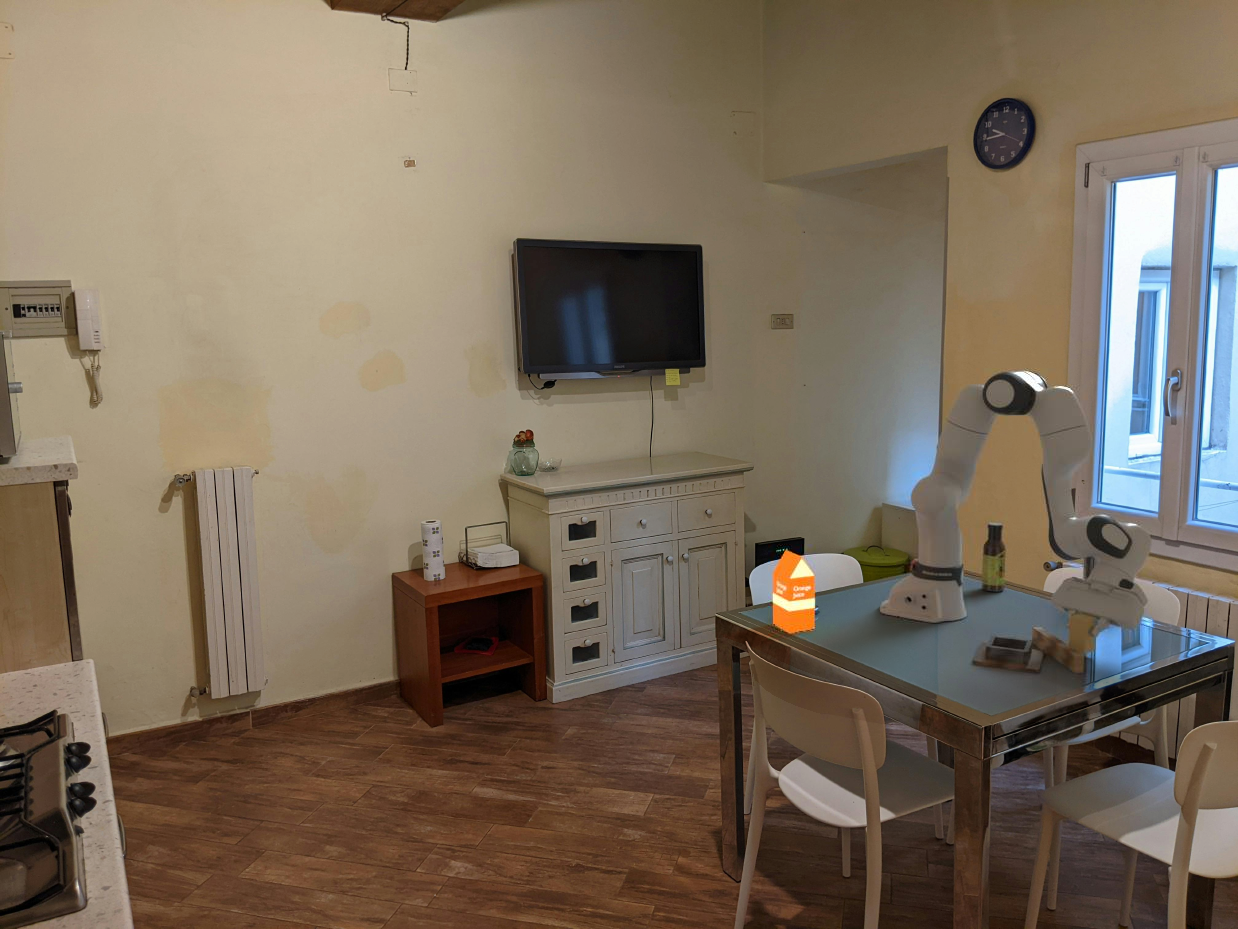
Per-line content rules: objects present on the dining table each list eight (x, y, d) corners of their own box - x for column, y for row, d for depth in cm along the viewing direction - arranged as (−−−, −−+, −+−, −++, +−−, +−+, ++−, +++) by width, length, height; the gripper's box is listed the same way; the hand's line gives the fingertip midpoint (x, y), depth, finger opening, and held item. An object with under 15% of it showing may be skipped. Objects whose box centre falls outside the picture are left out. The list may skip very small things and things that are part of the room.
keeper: (972, 664, 211) (972, 648, 210) (981, 645, 223) (981, 630, 222) (1038, 673, 204) (1039, 657, 203) (1044, 653, 216) (1044, 638, 215)
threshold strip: (1031, 643, 223) (1032, 627, 223) (1040, 642, 223) (1040, 627, 223) (1074, 672, 203) (1075, 655, 203) (1083, 672, 203) (1084, 655, 203)
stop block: (1068, 649, 214) (1070, 616, 213) (1078, 645, 216) (1080, 613, 215) (1084, 654, 211) (1086, 620, 210) (1094, 650, 213) (1096, 617, 212)
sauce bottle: (1003, 593, 265) (1005, 526, 262) (980, 591, 268) (982, 525, 265) (1005, 588, 270) (1007, 522, 268) (983, 585, 274) (985, 521, 271)
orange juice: (788, 633, 235) (788, 558, 233) (772, 623, 244) (772, 551, 241) (815, 629, 238) (815, 555, 235) (798, 620, 246) (798, 548, 243)
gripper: (1062, 568, 223) (1035, 613, 220) (1145, 587, 206) (1117, 636, 202) (1072, 582, 226) (1046, 627, 223) (1155, 602, 209) (1128, 652, 205)
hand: (1080, 632), depth 212 cm, fingers closed on stop block, 4 cm apart
